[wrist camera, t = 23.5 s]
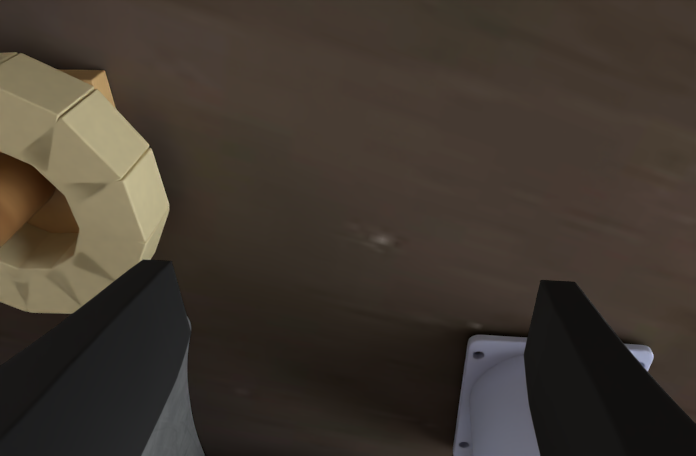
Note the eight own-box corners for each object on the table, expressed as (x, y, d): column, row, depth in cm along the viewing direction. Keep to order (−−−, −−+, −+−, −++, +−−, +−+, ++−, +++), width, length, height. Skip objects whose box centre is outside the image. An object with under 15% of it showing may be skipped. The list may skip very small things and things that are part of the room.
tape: (193, 277, 24) (172, 316, 22) (-15, 274, 25) (-51, 311, 24) (120, 46, 18) (84, 72, 16) (-143, 58, 20) (-205, 83, 18)
